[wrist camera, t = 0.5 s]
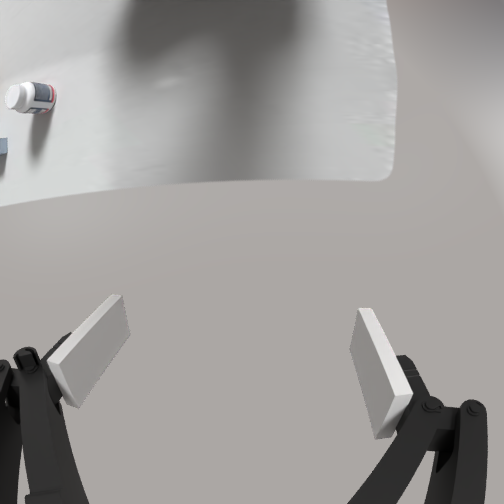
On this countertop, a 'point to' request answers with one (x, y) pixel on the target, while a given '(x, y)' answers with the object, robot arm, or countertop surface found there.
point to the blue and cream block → (3, 146)
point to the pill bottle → (30, 98)
